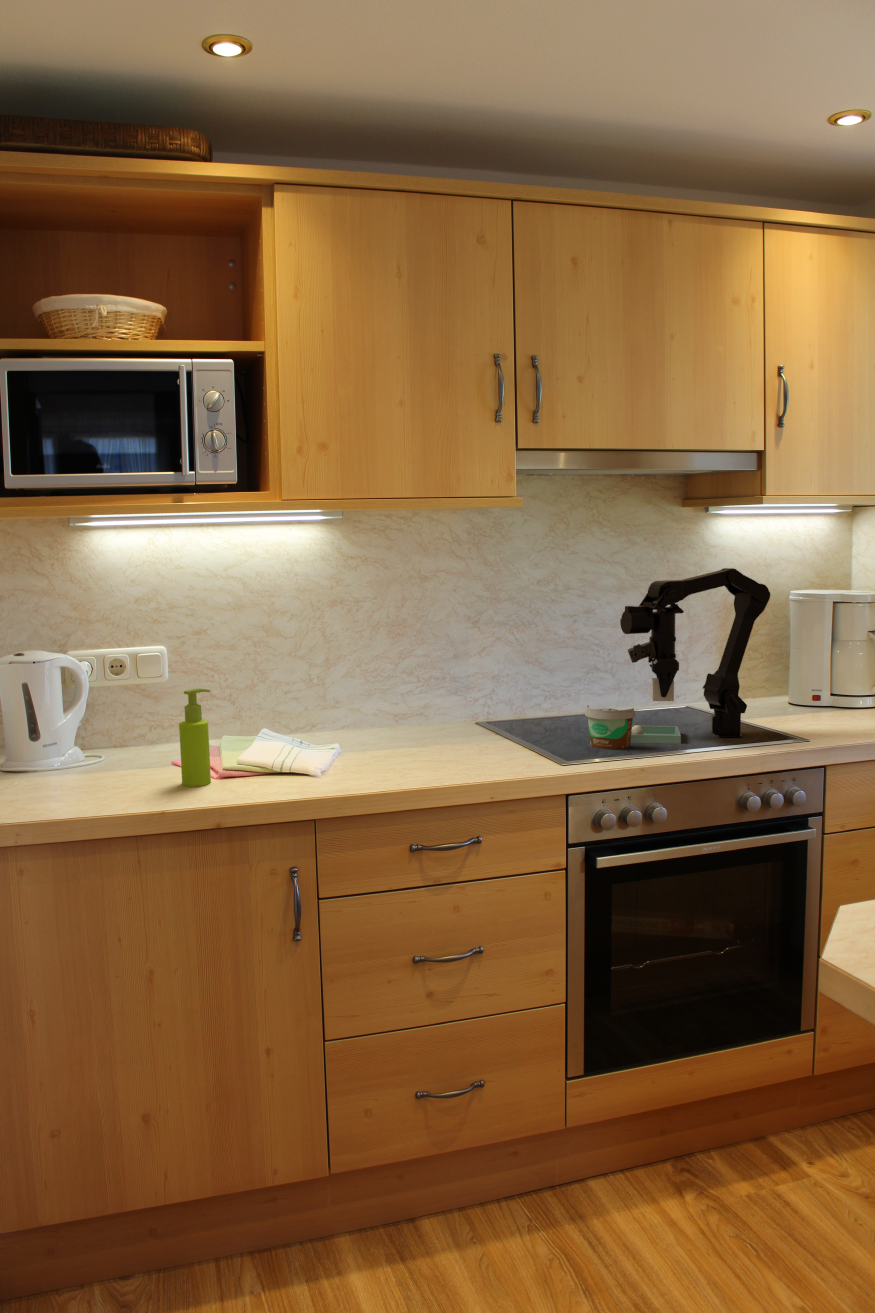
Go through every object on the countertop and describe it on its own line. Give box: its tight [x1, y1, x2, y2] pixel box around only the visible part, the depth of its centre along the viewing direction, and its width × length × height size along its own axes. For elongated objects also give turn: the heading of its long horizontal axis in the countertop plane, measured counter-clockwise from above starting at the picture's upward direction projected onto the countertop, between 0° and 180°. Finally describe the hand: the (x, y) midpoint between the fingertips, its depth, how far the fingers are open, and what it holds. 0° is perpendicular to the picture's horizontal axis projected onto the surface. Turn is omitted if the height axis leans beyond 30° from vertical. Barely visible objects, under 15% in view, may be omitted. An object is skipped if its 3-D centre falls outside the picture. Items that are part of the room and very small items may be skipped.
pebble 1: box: [631, 724, 643, 732], centre depth 234 cm, size 3×3×3 cm
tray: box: [630, 725, 682, 745], centre depth 232 cm, size 13×12×2 cm
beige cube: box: [651, 677, 675, 702], centre depth 230 cm, size 5×5×5 cm
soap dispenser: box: [178, 688, 212, 788], centre depth 196 cm, size 6×7×20 cm
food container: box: [584, 705, 637, 750], centre depth 222 cm, size 12×6×10 cm, turn 62°
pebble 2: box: [632, 728, 643, 735], centre depth 230 cm, size 3×3×3 cm
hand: (662, 695), depth 230 cm, fingers closed on beige cube, 5 cm apart
